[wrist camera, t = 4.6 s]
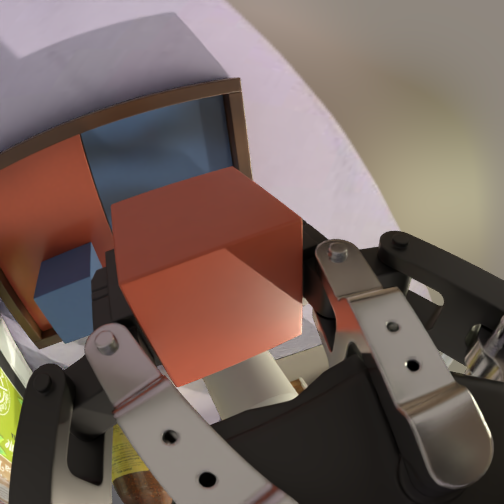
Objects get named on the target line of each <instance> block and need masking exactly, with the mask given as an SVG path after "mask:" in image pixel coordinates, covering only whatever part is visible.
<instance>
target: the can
mask: <svg viewBox="0 0 504 504" xmlns="http://www.w3.org/2000/svg"><path fill="white" fill-rule="evenodd" d="M203 380H204V383H205V385H206V387H207V389H208V391H209V393H210V396H211V398H212V400H213V402H214V404H215V406H216V408H217V410H218V413H219V415H220V417H221V419H222V420H224V419H227V418H229V417H231V416H234V415H236V414H239V413H241V412H243V411H245V410H249V409H254V408H259V407H263V406H268V405H273V404H277V403H281V402H286V401H289V400H292V399H294V398H295V397H297V396H298V393H297V392H296V391H295V389H294V388H293V386H292V385H291V383H290V382H289V380H288V379H287V378H286V376H285V375H284V373H283V372H282V370H281V369H280V367H279V366H278V364H277V363H276V361H275V360H274V358H273V357H272V356H271V354H270V353H269V351H268V350H267V351H265V352H263V353H260V354H258V355H256V356H254V357H251V358H249V359H247V360H245V361H242V362H240V363H238V364H235V365H233V366H231V367H228V368H226V369H223V370H221V371H219V372H216V373H214V374H211V375H209V376H206V377H204V378H203Z"/></svg>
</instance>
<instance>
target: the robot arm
mask: <svg viewBox="0 0 504 504" xmlns="http://www.w3.org/2000/svg"><path fill="white" fill-rule="evenodd" d="M302 230H303V299H302V306H304V305H306V304H310V305H311V306H312V307H313V310H312V316H313V319H314V322H315V325H316V328H317V330H318V333H319V336H320V339H321V342H322V344H323V347H324V350H325V353H326V356H327V359H328V363H329V369H328V370H326V371H324V372H323V373H322V374H321V375H320V376H319V377H318V378H317V379H315V380H314V381H313V382H312V383H311V384H310V385H309V386H308V387H307V388H306V389H305V390H303V391H302V392H301V393H300V394H299V395H298V396H297V397H295V398H294V399H292V400H289V401H286V402H281V403H277V404H273V405H268V406H263V407H259V408H254V409H249V410H245V411H243V412H241V413H239V414H236V415H234V416H231V417H229V418H227V419H224V420H222V421H219V422H217V423H214V424H212V425H209V424H208V423H207V422H206V421H205V420H204V419H203V418H202V417H201V415H200V414H199V413H198V412H197V411H196V410H195V409H194V408H193V407H192V406H191V405H190V403H189V402H188V401H187V400H186V399H185V398H184V397H183V396H182V394H181V393H180V392H179V391H178V390H177V389H176V387H175V386H174V385H173V384H172V383H171V382H170V380H169V379H168V378H167V377H166V376H165V375H164V376H163V375H162V374H161V372H160V371H159V370H158V369H157V366H158V365H161V362H160V360H159V359H158V357H157V355H156V354H155V352H154V350H153V349H152V347H151V345H150V343H149V342H148V340H147V338H146V336H145V335H144V333H143V331H142V329H141V327H140V326H139V324H138V322H137V320H136V318H135V316H134V314H133V313H132V311H131V309H130V307H129V305H128V303H127V301H126V299H125V297H124V295H123V293H122V291H121V289H120V287H119V285H118V277H117V270H116V261H115V252H114V249H111V250H109V251H106V252H105V261H106V267H104V268H101V269H98V270H96V272H95V274H94V276H93V278H92V280H91V292H92V293H91V297H92V319H93V332H92V333H91V335H90V336H89V337H88V339H87V341H86V343H85V349H84V351H85V355H84V356H83V357H82V358H81V359H80V360H78V361H77V362H75V363H74V364H73V365H71V366H70V367H68V368H67V369H65V370H64V371H63V370H62V368H60V367H59V366H58V365H56V364H45V365H43V366H40V367H39V368H38V369H36V370H35V371H34V372H33V374H32V375H31V376H30V378H29V380H28V383H27V387H26V390H25V394H24V398H23V403H22V407H21V412H20V416H19V421H18V426H17V432H16V437H15V443H14V450H13V457H12V465H11V474H10V485H9V501H8V504H112V445H113V426H114V425H116V424H117V423H118V425H119V427H120V428H121V430H122V431H123V433H124V435H125V436H126V438H127V439H128V441H129V442H130V444H131V445H132V447H133V448H134V450H135V451H136V453H137V454H138V455H139V457H140V458H141V460H142V461H143V462H144V464H145V465H146V467H147V468H148V469H149V471H150V472H151V473H152V475H153V476H154V477H155V478H156V480H157V481H158V482H159V484H160V485H161V486H162V487H163V489H164V490H165V491H166V492H167V494H168V495H169V496H170V497H171V498H172V499H173V500H172V503H171V504H504V280H502V279H500V278H498V277H496V276H494V275H492V274H490V273H489V272H487V271H485V270H483V269H481V268H479V267H477V266H475V265H473V264H471V263H469V262H467V261H465V260H463V259H461V258H459V257H457V256H455V255H453V254H451V253H449V252H447V251H445V250H443V249H440V248H438V247H436V246H434V245H432V244H430V243H427V242H425V241H423V240H421V239H419V238H416V237H414V236H412V235H410V234H407V233H405V232H401V231H389V232H386V233H384V234H383V235H382V236H381V237H380V241H379V247H373V248H367V249H358V248H357V247H356V246H355V245H354V244H352V243H351V242H348V241H345V240H340V239H331V240H328V239H327V238H326V237H325V236H323V235H322V234H321V233H320V232H318V231H317V230H316V229H315V228H313V227H312V226H311V225H309V224H307V222H306V221H304V220H303V219H302ZM412 278H413V279H415V280H417V281H419V282H421V283H422V284H424V285H426V286H428V287H430V288H432V289H434V290H436V291H438V292H439V293H440V294H441V295H442V296H443V298H444V305H443V306H438V305H436V304H434V303H433V302H431V301H429V300H427V299H425V298H423V297H421V296H420V295H418V294H416V293H414V292H412V291H410V290H408V289H409V286H410V282H411V279H412ZM437 349H438V350H439V351H441V352H443V353H444V354H446V355H448V356H449V357H451V358H453V359H455V360H456V361H458V362H460V363H461V364H463V365H465V366H466V367H467V369H466V370H465V374H461V373H456V372H451V371H449V369H448V367H447V366H446V364H445V362H444V360H443V358H442V357H441V355H440V353H439V351H438V350H437Z"/></svg>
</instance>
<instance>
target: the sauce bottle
mask: <svg viewBox="0 0 504 504" xmlns="http://www.w3.org/2000/svg"><path fill="white" fill-rule="evenodd" d="M112 482H113V485H114V488H115V490H116V492H117V494H118V495H119V497H120V498H121V500H122V501H123V502H124V504H171V503H172V500H173V499H172V498H171V497H170V496H169V495H168V494H167V492H166V491H165V490H164V489H163V487H162V486H161V485H160V484H159V482H158V481H157V480H156V478H155V477H154V476H153V475H152V473H151V472H150V471H149V469H148V468H147V467H146V465H145V464H144V462H143V461H142V460H141V458H140V457H139V455H138V454H137V453H136V451H135V450H134V448H133V447H132V445H131V444H130V442H129V441H128V439H127V438H126V436H125V435H124V433H123V431H122V430H121V428H120V427H119V425H118V423H117V424H116V425H114V426H113V445H112Z"/></svg>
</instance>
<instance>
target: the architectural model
mask: <svg viewBox="0 0 504 504" xmlns="http://www.w3.org/2000/svg"><path fill="white" fill-rule="evenodd" d="M275 361H276V363H277V364H278V366H279V367H280V369H281V370H282V372H283V373H284V375H285V376H286V378H287V379H288V380H289V382H290V383H291V385H292V386H293V388H294V389H295V391H296V392H297V393H298V395H299V394H300V393H301V392H302V391H303V390H305V389H306V388H307V387H308V386H309V385H310V384H311V383H312V382H313V381H314V380H315V379H317V378H318V377H319V376H320V375H321V374H322V373H323V372H324V371H326V370H328V369H329V363H328V359H327V356H326V353H325V350H324V347H323V344H322V345H320V346H317V347H314V348H311V349H308V350H305V351H302V352H299V353H296V354H293V355H290V356H287V357H284V358H281V359H277V360H275ZM221 421H222V419H221Z"/></svg>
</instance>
